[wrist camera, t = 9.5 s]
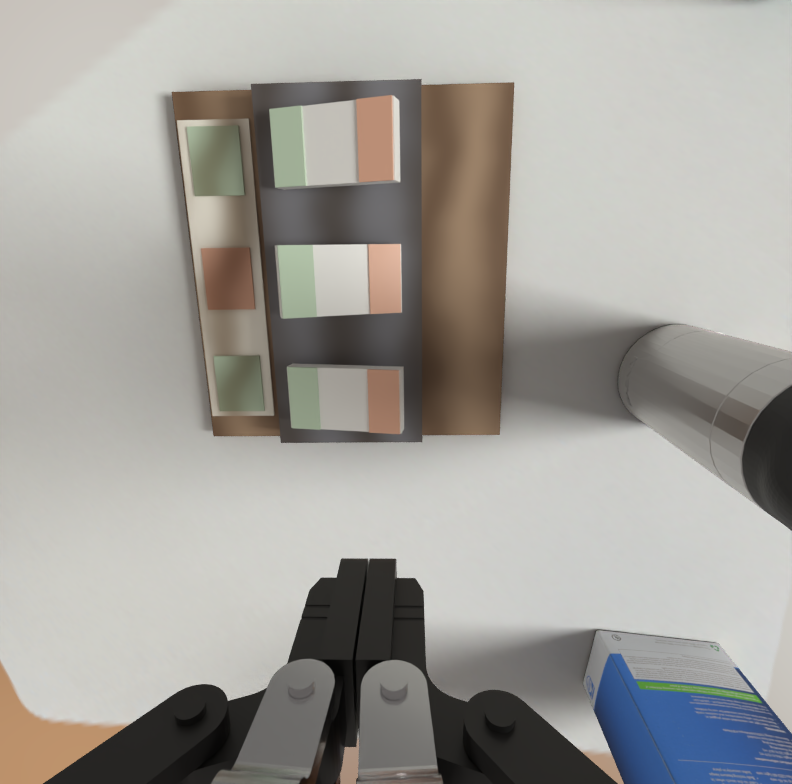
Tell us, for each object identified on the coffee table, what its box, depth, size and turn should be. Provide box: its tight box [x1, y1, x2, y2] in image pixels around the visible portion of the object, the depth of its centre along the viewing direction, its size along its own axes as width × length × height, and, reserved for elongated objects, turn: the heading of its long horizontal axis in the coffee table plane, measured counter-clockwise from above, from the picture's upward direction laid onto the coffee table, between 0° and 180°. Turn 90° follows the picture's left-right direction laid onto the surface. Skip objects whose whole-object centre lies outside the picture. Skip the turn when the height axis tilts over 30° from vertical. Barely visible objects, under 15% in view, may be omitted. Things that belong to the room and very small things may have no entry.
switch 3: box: [287, 363, 404, 434], centre depth 39 cm, size 9×5×1 cm, turn 91°
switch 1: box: [269, 95, 400, 190], centre depth 34 cm, size 9×5×1 cm, turn 91°
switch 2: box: [275, 244, 402, 319], centre depth 36 cm, size 9×5×1 cm, turn 91°
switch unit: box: [172, 79, 514, 443], centre depth 40 cm, size 26×28×5 cm
